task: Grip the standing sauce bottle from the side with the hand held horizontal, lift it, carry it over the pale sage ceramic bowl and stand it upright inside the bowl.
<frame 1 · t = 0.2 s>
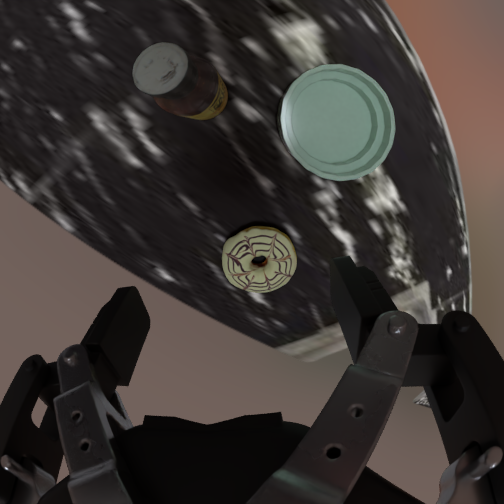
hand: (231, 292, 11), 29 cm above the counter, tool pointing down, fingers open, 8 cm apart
sauce bottle: (205, 97, 33), on the counter
decorated donut: (258, 253, 43), on the counter
bowl: (330, 121, 34), on the counter
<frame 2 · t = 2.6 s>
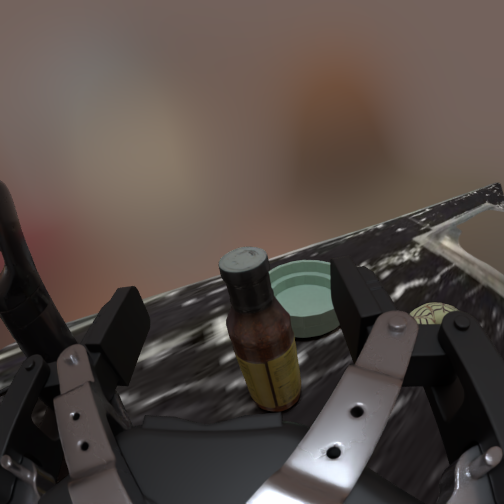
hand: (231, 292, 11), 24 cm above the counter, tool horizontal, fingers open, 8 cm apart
sauce bottle: (275, 395, 32), on the counter
decorated donut: (435, 342, 33), on the counter
bowl: (305, 308, 45), on the counter
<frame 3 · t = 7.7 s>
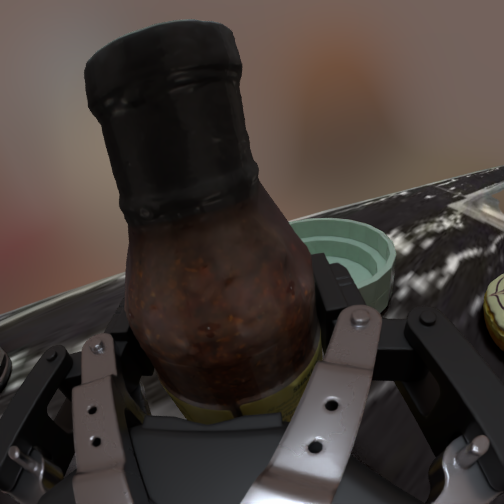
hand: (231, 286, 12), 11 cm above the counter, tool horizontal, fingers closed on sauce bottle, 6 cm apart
sauce bottle: (269, 447, 14), on the counter, touching gripper
bowl: (319, 290, 28), on the counter
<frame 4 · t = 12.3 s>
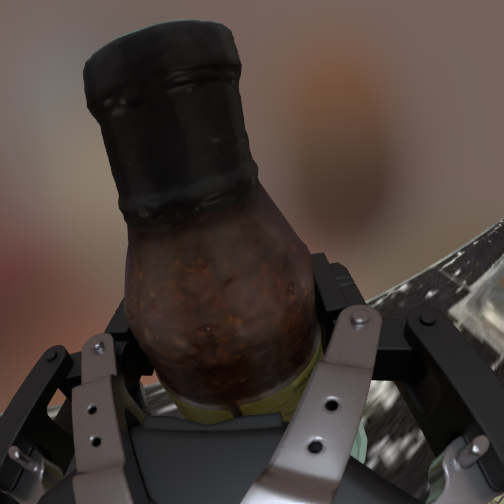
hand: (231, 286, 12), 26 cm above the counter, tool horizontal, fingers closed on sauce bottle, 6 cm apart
sauce bottle: (269, 448, 14), point 14 cm above the counter, touching gripper
bowl: (293, 459, 24), on the counter
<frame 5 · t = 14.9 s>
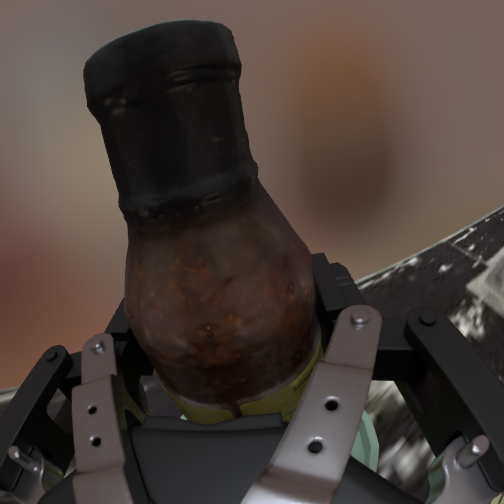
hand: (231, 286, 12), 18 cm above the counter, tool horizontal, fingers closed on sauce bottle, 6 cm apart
sauce bottle: (269, 447, 14), point 6 cm above the counter, touching gripper
bowl: (275, 469, 18), on the counter
when the fingers open (12 cm above the counter, at t = 17.0 s): sauce bottle stays where it is, resting on bowl.
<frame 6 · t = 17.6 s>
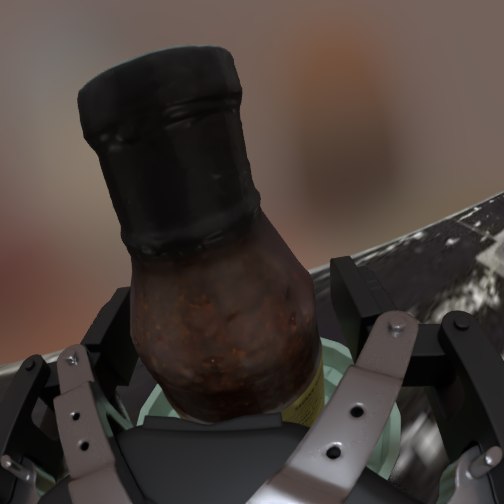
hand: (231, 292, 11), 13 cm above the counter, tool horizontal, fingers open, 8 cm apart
sauce bottle: (272, 453, 15), point 1 cm above the counter, touching bowl
bowl: (271, 454, 15), on the counter
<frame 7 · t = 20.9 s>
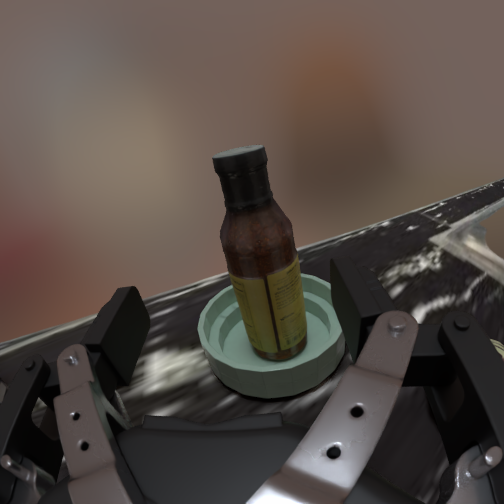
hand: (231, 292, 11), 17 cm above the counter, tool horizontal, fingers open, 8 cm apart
sauce bottle: (277, 343, 29), point 1 cm above the counter, touching bowl
bowl: (276, 346, 30), on the counter
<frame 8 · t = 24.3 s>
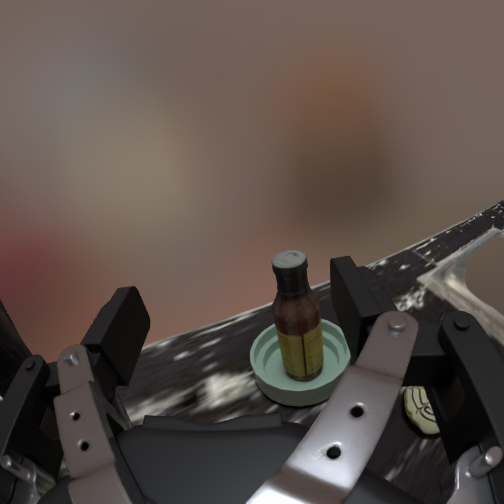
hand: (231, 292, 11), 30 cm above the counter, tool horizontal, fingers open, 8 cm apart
sauce bottle: (302, 368, 41), point 1 cm above the counter, touching bowl
decorated donut: (433, 407, 29), on the counter
bowl: (301, 370, 41), on the counter
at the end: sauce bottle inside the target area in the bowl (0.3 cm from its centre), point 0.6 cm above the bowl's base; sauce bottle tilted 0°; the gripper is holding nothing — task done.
